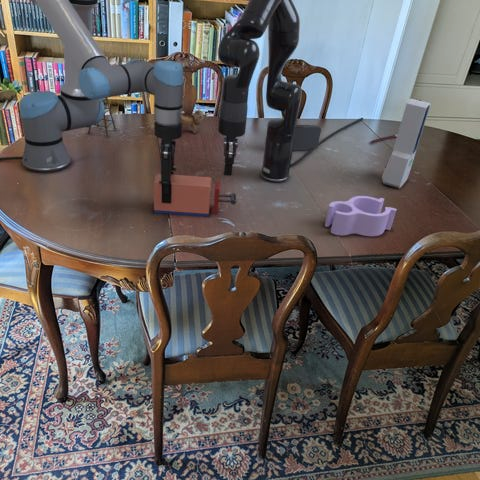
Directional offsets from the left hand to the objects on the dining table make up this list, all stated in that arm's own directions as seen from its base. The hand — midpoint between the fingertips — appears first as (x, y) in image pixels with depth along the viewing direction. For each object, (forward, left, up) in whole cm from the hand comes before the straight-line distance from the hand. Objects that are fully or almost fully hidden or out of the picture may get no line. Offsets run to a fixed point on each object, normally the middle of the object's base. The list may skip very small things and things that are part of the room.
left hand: (167, 196), depth 140 cm
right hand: (+17, +2, +9) cm, 19 cm away
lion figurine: (-9, +66, -4) cm, 67 cm away
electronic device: (+75, +43, -4) cm, 87 cm away
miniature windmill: (-41, +53, -4) cm, 67 cm away
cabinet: (+4, +1, -4) cm, 6 cm away
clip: (+58, +5, -4) cm, 58 cm away
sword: (+81, +91, -4) cm, 122 cm away
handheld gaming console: (+36, +61, -4) cm, 71 cm away
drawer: (+10, +2, -3) cm, 11 cm away
